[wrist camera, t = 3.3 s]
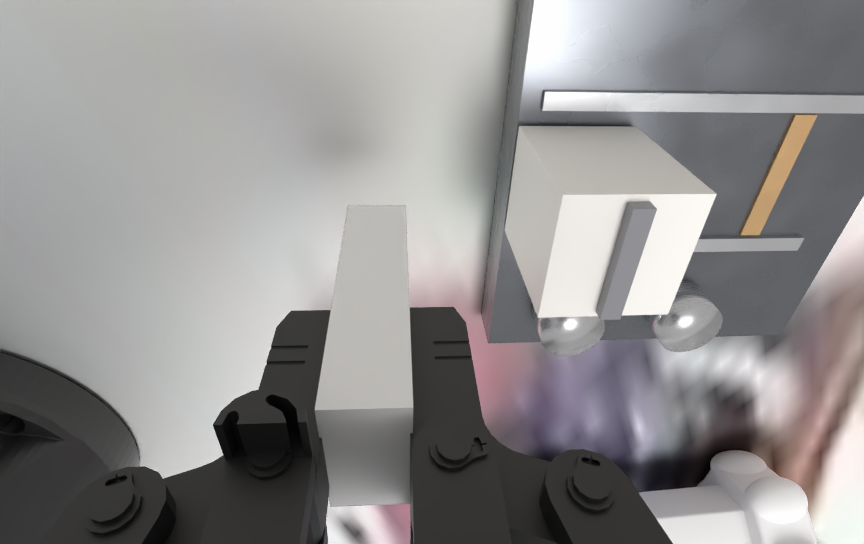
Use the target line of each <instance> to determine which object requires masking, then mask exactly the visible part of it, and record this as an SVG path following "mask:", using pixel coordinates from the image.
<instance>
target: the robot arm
mask: <svg viewBox="0 0 864 544" xmlns="http://www.w3.org/2000/svg"><path fill="white" fill-rule="evenodd" d="M213 426H214V429H215V432H216V435H217V438H218V440H219V443H220V446H221V449H222V452H223V456H222V457H220V458H219V459H217V460H215V461H214V462H211V463H209V464H207V465H204V466H202V467H199V468H196V469H193V470H190V471H186V472H183V473H180V474H177V475H174V476H171V477H168V478H164V479H162V477H161V476H160V474H159V473H158V472H156V471H154V470H152V469H149V468H147V467H139V454H138V449H137V446H136V443H135V441H134V439H133V437H132V435H131V433H130V432H129V430H128V429H127V427H126V426H125V424H124V423H123V422H122V421H121V420H120V419H119V417H118V416H117V415H116V414H115V413H114V412H113V411H112V410H111V409H109V408H108V407H107V406H106V405H105V404H104V403H102V402H101V401H100V400H99V399H97V398H96V397H95V396H93V395H92V394H90V393H89V392H88V391H86V390H84V389H83V388H81V387H80V386H78V385H76V384H75V383H73V382H71V381H69V380H67V379H66V378H64V377H62V376H60V375H58V374H56V373H54V372H51V371H49V370H47V369H45V368H42V367H40V366H37V365H35V364H32V363H30V362H27V361H24V360H21V359H19V358H16V357H12V356H9V355H6V354H3V353H0V544H328V537H327V526H326V514H327V506H328V497H329V502H330V507H337V506H361V505H385V504H410V515H411V532H410V544H673V543H672V541H671V540H670V538H669V537H668V535H667V534H666V532H665V531H664V529H663V528H662V526H661V525H660V524H659V522H658V521H657V519H656V518H655V516H654V515H653V513H652V512H651V510H650V509H649V507H648V506H647V504H646V503H645V501H644V500H643V498H642V497H641V496H640V494H639V493H638V491H637V490H636V488H635V487H634V485H633V484H632V482H631V481H630V479H629V478H628V476H627V475H626V474H625V473H624V472H623V471H622V470H621V469H620V468H619V467H618V466H617V464H616V463H614V462H613V461H611V460H609V459H608V458H606V457H604V456H603V455H601V454H599V453H595V452H591V451H588V450H584V449H580V450H567V451H565V452H563V453H561V454H559V455H558V456H556V457H554V459H553V460H552V462H550V461H546V460H542V459H538V458H535V457H531V456H527V455H524V454H521V453H518V452H515V451H513V450H510V449H509V448H507V447H506V446H504V445H502V444H501V443H499V442H498V441H497V440H496V439H495V438H494V437H493V436H492V435H491V434H490V432H489V430H488V429H487V427H486V426H485V423H484V420H483V417H482V413H481V407H480V401H479V395H478V390H477V384H476V378H475V373H474V367H473V361H472V355H471V350H470V344H469V338H468V333H467V327H466V322H465V321H464V320H463V318H462V317H461V316H460V315H459V313H458V312H457V311H456V309H455V308H454V307H424V308H410V306H409V279H408V252H407V226H406V205H348V208H347V214H346V220H345V226H344V232H343V239H342V245H341V251H340V257H339V263H338V269H337V275H336V282H335V288H334V294H333V300H332V306H331V310H316V311H291V312H290V313H289V314H288V315H287V316H286V317H285V318H284V319H283V321H282V322H281V323H280V324H279V325H278V326H277V328H276V331H275V335H274V338H273V342H272V345H271V350H270V352H269V355H268V359H267V365H266V366H265V369H264V373H263V376H262V380H261V383H260V387H259V390H256V391H251V392H249V393H247V394H245V395H242V396H240V397H238V398H236V399H234V400H233V401H232V402H231V403H230V404H229V405H227V406H226V407H225V408H224V409H223V410H222V411H221V412H220V414H219V416H218V417H217V419H216V421H215V422H214V424H213Z"/></svg>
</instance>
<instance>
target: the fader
mask: <svg viewBox="0 0 864 544" xmlns="http://www.w3.org/2000/svg"><path fill="white" fill-rule="evenodd" d="M716 195H717V194H716V193H715V192H714V191H713V190H711V189H710V188H709V187H708V186H707V185H705V184H704V183H703V182H702V181H701V180H699V179H698V178H697V177H696V176H695V175H693V174H692V173H691V172H690V171H689V170H687V169H686V168H685V167H684V166H683V165H681V164H680V163H679V162H678V161H677V160H675V159H674V158H673V157H672V156H671V155H669V154H668V153H667V152H666V151H665V150H663V149H662V148H661V147H660V146H659V145H658V144H656V143H655V142H654V141H653V140H652V139H650V138H649V137H648V136H647V135H646V134H644V133H643V132H642V131H641V130H640V129H638V128H637V127H623V126H519V130H518V137H517V145H516V152H515V159H514V167H513V174H512V181H511V189H510V196H509V203H508V211H507V218H506V225H505V233H506V235H507V238H508V240H509V243H510V246H511V248H512V251H513V254H514V256H515V259H516V261H517V264H518V267H519V269H520V272H521V275H522V277H523V280H524V283H525V285H526V288H527V290H528V293H529V296H530V298H531V301H532V304H533V306H534V309H535V312H536V314H537V317H538V318H545V317H584V316H598V317H599V319H600V320H620V319H621V316H623V315H662V314H668V313H669V311H670V308H671V306H672V303H673V301H674V298H675V296H676V293H677V291H678V289H679V286H680V284H681V281H682V279H683V276H684V274H685V271H686V269H687V266H688V264H689V261H690V259H691V256H692V254H693V251H694V249H695V247H696V244H697V242H698V239H699V237H700V234H701V232H702V229H703V227H704V224H705V222H706V219H707V217H708V214H709V212H710V209H711V207H712V205H713V202H714V200H715V197H716Z"/></svg>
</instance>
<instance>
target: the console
mask: <svg viewBox="0 0 864 544" xmlns="http://www.w3.org/2000/svg"><path fill="white" fill-rule="evenodd" d="M519 126H623V127H637V128H638V129H640V130H641V131H642V132H643V133H644V134H646V135H647V136H648V137H649V138H650V139H652V140H653V141H654V142H655V143H656V144H658V145H659V146H660V147H661V148H662V149H663V150H665V151H666V152H667V153H668V154H669V155H671V156H672V157H673V158H674V159H675V160H677V161H678V162H679V163H680V164H681V165H683V166H684V167H685V168H686V169H687V170H689V171H690V172H691V173H692V174H693V175H695V176H696V177H697V178H698V179H699V180H701V181H702V182H703V183H704V184H705V185H707V186H708V187H709V188H710V189H711V190H713V191H714V192H715V193H716V194H717V195H716V197H715V200H714V202H713V205H712V207H711V209H710V212H709V214H708V217H707V219H706V222H705V224H704V227H703V229H702V232H701V234H700V237H699V239H698V242H697V244H696V247H695V249H694V251H693V254H692V256H691V259H690V261H689V264H688V266H687V269H686V271H685V274H684V276H683V279H682V281H681V284H680V286H679V289H678V291H677V293H676V296H675V298H674V301H673V303H672V306H671V308H670V311H669V313H668V314H662V315H623V316H621V319H620V320H600V319H599V317H598V316H584V317H545V318H538V317H537V314H536V312H535V309H534V306H533V304H532V301H531V298H530V296H529V293H528V290H527V288H526V285H525V283H524V280H523V277H522V275H521V272H520V269H519V267H518V264H517V261H516V259H515V256H514V254H513V251H512V248H511V246H510V243H509V240H508V238H507V235H506V233H505V225H506V218H507V211H508V203H509V196H510V189H511V181H512V174H513V167H514V159H515V152H516V145H517V137H518V130H519ZM863 196H864V0H518V7H517V15H516V24H515V32H514V41H513V49H512V58H511V66H510V75H509V83H508V92H507V100H506V109H505V117H504V126H503V134H502V143H501V151H500V160H499V168H498V177H497V185H496V194H495V202H494V211H493V219H492V228H491V236H490V245H489V253H488V262H487V270H486V279H485V287H484V295H483V304H482V312H481V315H482V320H483V324H484V328H485V332H486V336H487V340H488V343H515V342H542V344H543V346H544V347H545V348H546V349H547V350H548V351H549V352H551V353H553V354H556V355H562V356H568V355H575V354H579V353H582V352H584V351H586V350H588V349H590V348H591V347H593V346H594V345H595V344H596V343H597V342H598V341H599V340H617V339H651V338H657V339H658V340H659V342H660V343H661V345H662V346H663V347H664V348H665V349H667V350H670V351H673V352H685V351H690V350H694V349H696V348H699V347H701V346H703V345H705V344H706V343H708V342H709V341H710V340H712V339H713V338H714V337H718V336H752V335H781V333H782V332H783V330H784V328H785V327H786V325H787V323H788V322H789V320H790V318H791V316H792V315H793V313H794V311H795V310H796V308H797V306H798V305H799V303H800V301H801V300H802V298H803V296H804V295H805V293H806V291H807V290H808V288H809V286H810V285H811V283H812V281H813V280H814V278H815V276H816V275H817V273H818V271H819V270H820V268H821V266H822V264H823V263H824V261H825V259H826V258H827V256H828V254H829V253H830V251H831V249H832V248H833V246H834V244H835V243H836V241H837V239H838V238H839V236H840V234H841V233H842V231H843V229H844V228H845V226H846V224H847V223H848V221H849V219H850V218H851V216H852V214H853V212H854V211H855V209H856V207H857V206H858V204H859V202H860V201H861V199H862V197H863Z"/></svg>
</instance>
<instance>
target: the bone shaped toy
mask: <svg viewBox="0 0 864 544" xmlns="http://www.w3.org/2000/svg"><path fill="white" fill-rule="evenodd" d="M710 468H711V470H710V471H709V473H708V474H707V476H706V477H705V479H704V480H702V481H701V482H700V483H699V484H698V485H697V486H696V487H690V488H680V489H669V490H659V491H648V492H638V493H639V494H640V496H641V497H642V498H643V500H644V501H645V503H646V504H647V506H648V507H649V509H650V510H651V512H652V513H653V515H654V516H655V518H656V519H657V521H658V522H659V524H660V525H661V526H662V528H663V529H664V531H665V532H666V534H667V535H668V537H669V538H670V540H671V541H672V543H673V544H818V543H817V540H816V536H815V533H814V529H813V526H812V523H811V519H810V516H809V513H808V509H807V507H808V501H807V497H806V495H805V493H804V491H803V490H802V488H801V487H800V486H799V485H798V484H796V483H795V482H793V481H791V480H789V479H786V478H781V477H779V476H778V475H777V474H776V473H774V472H773V471H772V470H771V469H769V468H768V467H767V465H766V463H765V462H764V461H763V460H762V459H761V458H760V457H758V456H757V455H755V454H753V453H750V452H747V451H742V450H729V451H724V452H720V453H718V454H716V455H715V456H714V457H713V458H712V459H711V462H710Z"/></svg>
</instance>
